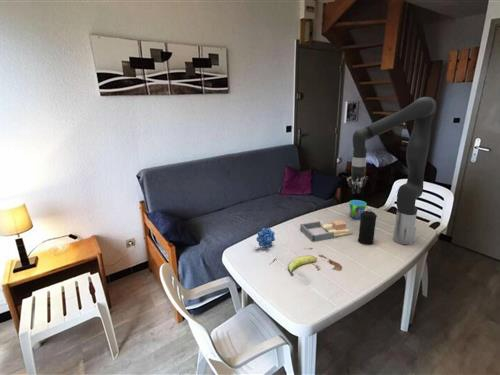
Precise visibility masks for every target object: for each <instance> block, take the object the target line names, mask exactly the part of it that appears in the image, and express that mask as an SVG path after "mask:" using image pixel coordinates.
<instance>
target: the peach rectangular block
mask: <svg viewBox="0 0 500 375" xmlns="http://www.w3.org/2000/svg"><path fill="white" fill-rule="evenodd" d="M331 223H332V227H333V228H334V229H336V230H342V229H346V228H347V223H346V222H344V221H343V220H341V219H340V220H335V221H332V222H331Z"/></svg>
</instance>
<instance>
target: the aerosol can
mask: <svg viewBox="0 0 500 375" xmlns="http://www.w3.org/2000/svg"><path fill="white" fill-rule="evenodd" d="M360 215H361V218H360V219H359V220H360V221H359V228H358V230H359V232H358V239H357V241H358V242H359V243H360V244H362V245H365V246H370V245H373V244H375V242H374V239H375V232H376V231H375V230H376V223H377V222H376V221H377V218H378V215H377V214H376V213H375V212H374V211H372V207H370V206H367V210H365V211H364V212H362V213H361V214H360Z"/></svg>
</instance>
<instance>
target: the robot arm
mask: <svg viewBox="0 0 500 375" xmlns="http://www.w3.org/2000/svg"><path fill="white" fill-rule="evenodd" d="M436 109H437V103H436V100H435V99H434V98H432V97H430V96H421V97H419V98H417V99H415V100H414V101H413V102H412V103H410V104H409V105H406V107H403V108H402V109H400V110H399V111H397V112H395V113H393V114H390V115H387V116H385V117H383V118H381V119H378V120H376V121H375V122H372V123H371V124H370V125H368V126H365V127H362V128H360V129H357V130H355V131H354V133H352V134H353V135H352V148H353V152H352V161H351V169H350V170H351V175H350V176H349V177H346V181H347V184H348V186H349V187H350V188H351V193H352V194H353V195H356V193H357V194H361V192H362V187H365V185H366V184H367V181H368V179H369V176H367V175H365V173H366V170H367V168H366V166H367V155H368V154H367V152H368V148H367V146H366V141H369V140H370V139H372V138H374V137H376V136H380V135H382V134H384V133H387V132H388V131H391V130H393V129H395V128H396V127H398V126H400V125H402V124H404V123H406V122H411V121H413V120H414V121H413V126H412V127H413V128H412V131H411V133H410V136H409V138H408V142H407V145H406V155H405V160H406V165H407V168H408V175H407V181H406V182H405V183H404V184H402V185H400V186H399V187H398V190H397V193H396V215H395V221H394V222H395V224H394V229H393V237H392V240H393V241H394V242H395V241H396V242H395V243H397V242H398V243H397V244H400V243H401V245H403V244H404V245H403V246H406V245H405V244H408V245H411V244H410V243H413V244H414V241H415V237H416V231H417V227H416V226H415V225H416V221H417V216H418V215H417V213H418V207H417V206H416V200H417V199H419V198H420V197H421V196H422V195H423V192H424V178H425V170H426V165H427V159H428V153H429V148H430V140H431V128H432V127H431V126H432V122H433V119H434V116H435V114H436V113H435V112H436Z"/></svg>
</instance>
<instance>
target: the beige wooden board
mask: <svg viewBox="0 0 500 375" xmlns="http://www.w3.org/2000/svg"><path fill="white" fill-rule="evenodd" d="M320 228H322V230H324V231H325V232H326V233H329V232H334V238H336V239H337V238H342V237H346V236H347V237H348V236H352V235H353V232H352V231H351V230H350V229H348V228H347V227H346V229H342V230H336V229H334V228H333V227H332V222H326V223H322V224H321V223H320ZM334 238H333V239H334Z"/></svg>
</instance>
